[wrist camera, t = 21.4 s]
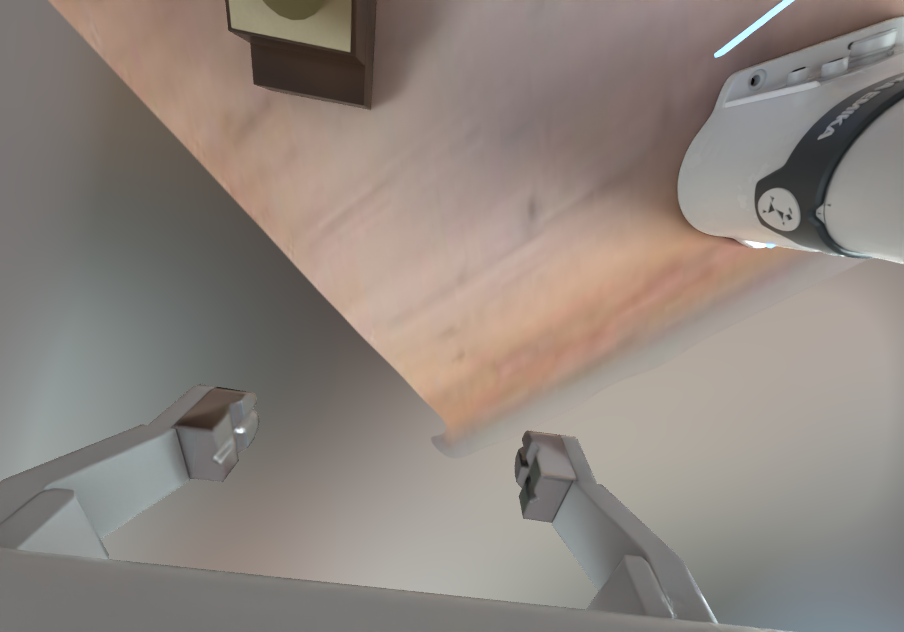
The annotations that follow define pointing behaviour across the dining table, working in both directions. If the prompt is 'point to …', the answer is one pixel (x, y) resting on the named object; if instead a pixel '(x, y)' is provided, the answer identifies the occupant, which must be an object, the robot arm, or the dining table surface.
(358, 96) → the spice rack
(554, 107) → the dining table surface
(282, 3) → the cork
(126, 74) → the dining table surface
